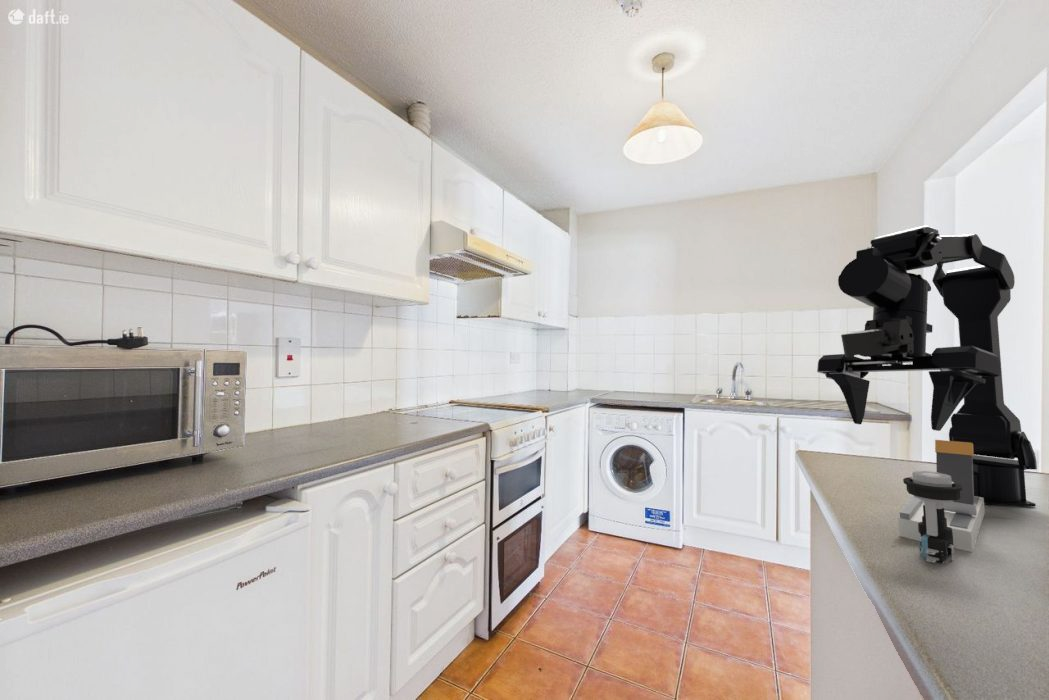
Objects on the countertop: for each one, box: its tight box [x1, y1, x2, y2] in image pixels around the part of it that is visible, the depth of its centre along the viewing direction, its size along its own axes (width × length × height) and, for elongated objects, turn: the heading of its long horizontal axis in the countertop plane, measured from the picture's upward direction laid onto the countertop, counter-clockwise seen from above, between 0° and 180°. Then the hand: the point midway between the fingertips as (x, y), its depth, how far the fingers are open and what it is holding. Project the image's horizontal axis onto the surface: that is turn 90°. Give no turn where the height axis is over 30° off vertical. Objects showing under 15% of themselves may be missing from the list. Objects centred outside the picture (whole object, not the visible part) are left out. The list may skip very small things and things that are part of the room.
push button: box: [902, 470, 963, 564], centre depth 52 cm, size 7×5×10 cm
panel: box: [897, 495, 986, 553], centre depth 63 cm, size 20×7×3 cm, turn 130°
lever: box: [934, 439, 977, 516], centre depth 61 cm, size 2×4×10 cm, turn 39°
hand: (893, 426), depth 58 cm, fingers open, 9 cm apart
